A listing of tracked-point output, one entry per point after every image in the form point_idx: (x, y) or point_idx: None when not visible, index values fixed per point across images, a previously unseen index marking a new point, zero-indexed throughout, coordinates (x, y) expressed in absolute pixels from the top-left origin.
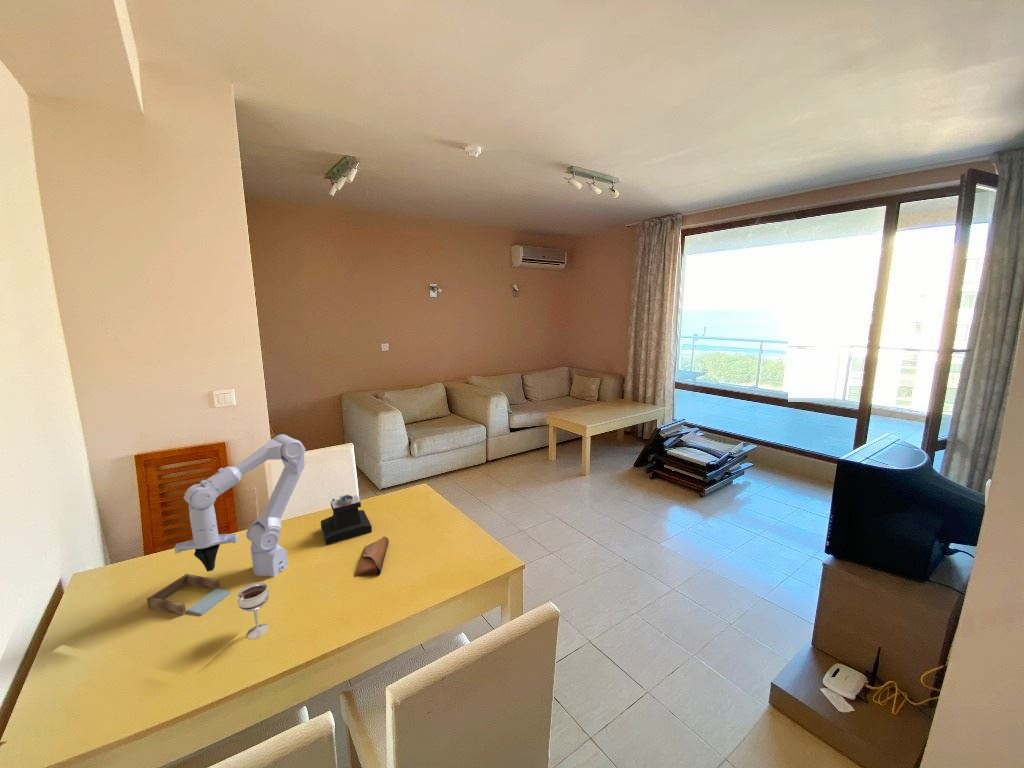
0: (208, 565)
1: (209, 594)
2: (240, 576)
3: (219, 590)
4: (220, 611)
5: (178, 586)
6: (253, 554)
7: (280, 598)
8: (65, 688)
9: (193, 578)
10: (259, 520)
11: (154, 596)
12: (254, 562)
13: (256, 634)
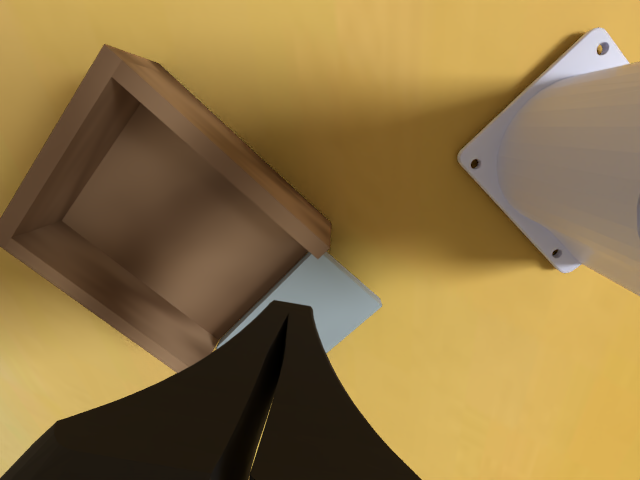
0: (271, 403)
1: (290, 286)
2: (424, 120)
3: (332, 273)
4: (341, 360)
5: (109, 125)
6: (629, 250)
7: (557, 398)
8: (6, 460)
9: (173, 127)
10: None
11: (19, 228)
12: (568, 224)
13: None
